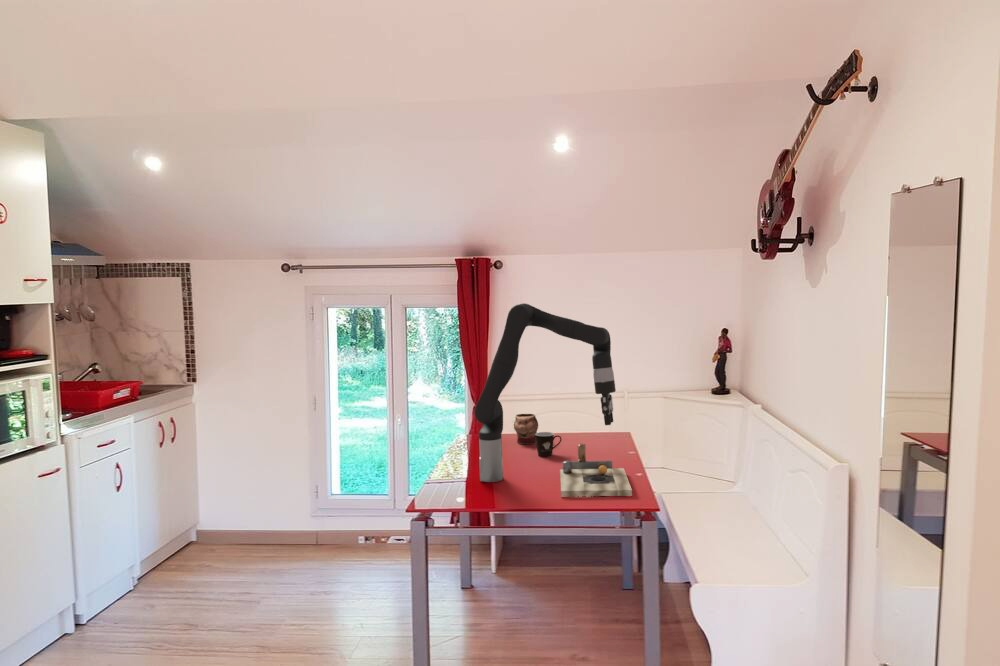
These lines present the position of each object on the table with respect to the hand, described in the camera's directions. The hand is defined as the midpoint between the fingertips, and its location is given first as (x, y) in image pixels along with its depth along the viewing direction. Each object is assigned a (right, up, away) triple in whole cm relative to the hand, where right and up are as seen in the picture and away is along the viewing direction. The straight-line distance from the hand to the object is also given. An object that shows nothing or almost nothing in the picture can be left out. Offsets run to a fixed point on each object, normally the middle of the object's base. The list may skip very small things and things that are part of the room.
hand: (609, 423), depth 246 cm
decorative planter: (-27, -21, +87) cm, 93 cm away
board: (-4, -26, +13) cm, 29 cm away
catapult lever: (-5, -23, +22) cm, 32 cm away
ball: (0, -21, +19) cm, 28 cm away
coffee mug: (-18, -23, +59) cm, 66 cm away
